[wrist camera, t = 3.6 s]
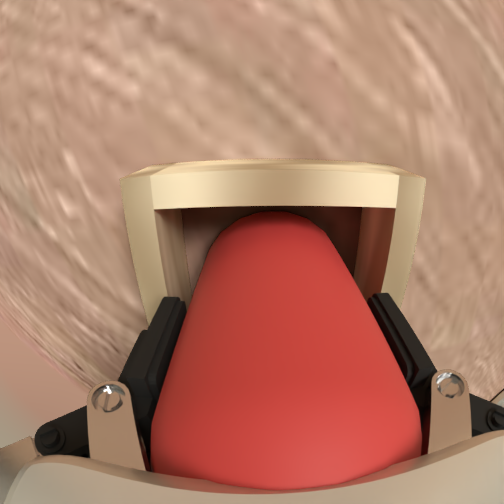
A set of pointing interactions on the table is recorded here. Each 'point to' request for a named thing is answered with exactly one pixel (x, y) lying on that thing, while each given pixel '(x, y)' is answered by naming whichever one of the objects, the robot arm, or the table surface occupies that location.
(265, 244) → the beer can
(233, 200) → the frame
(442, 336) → the table surface
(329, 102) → the table surface
